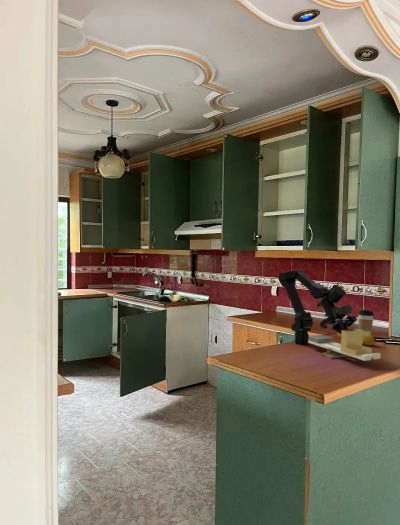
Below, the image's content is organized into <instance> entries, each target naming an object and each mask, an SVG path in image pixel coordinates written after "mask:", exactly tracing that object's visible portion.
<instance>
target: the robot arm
mask: <svg viewBox="0 0 400 525" xmlns="http://www.w3.org/2000/svg"><path fill="white" fill-rule="evenodd" d="M277 279H278V281H279V283H280V285H281V286H282V287H283V288H284V289H285V290H286V292H287V295H288V298H289V301H290V303H291V306H292V308H293V311H294V322H293V324H292V325H291V327H290V328H291V331H293V340H292V341H293V343H294V344H296V345H309V343H308V339H309V336H310V334H309V332H311V330H312V327H313V326H314V325H313V324H314V318H313V317H312V314H311V312H308V311H306V310H305V309H304V305H303V303H302V300H301V298H300V296H299V292H298V290H297V288H296V284H297V283H296V282H297V281H298V282H299V283H301V285H303V286H304V287H305V288H306V289H307V290H308V291H309V294H310V296H311V297H312V298H313V299H314V300H320V301H317V304H316V307H317V308H322V310H323V311H324V313H325V314H324V318H323V319H322V320H321V321H320V322H319V327H320V328H321V329H322V330H325V329H328V325H331V328H330V329H331V330H332V331H335V332H337V333H340V334H341V333H342V330H349V327H352V326H353V325H354V324H355V323H356V322H357V321H358V317H357V316H356V315H351V314H352V313H353V310H354V308H353V307H352V305H351V304H346V305H343V306H340V307H339V306H336V304H338V303H339V302H340V301H341V300H342V299H343V298H344V297H345V296H346V295H347V293H346V290H345V289H344V288H342V287H340V286H339V285H338V284H333V285H332V286H331V288H330V289H329V288H328V287H326V286H324V285H322V284H320V283H316V282H315V281H314V280H313V279H312V278H310V277H309V276H308V275H307V274H305V273H304V271H303V270H302V269H293V270H289V271H287V272H286V271H285V272H282V271H281V272H280V273H279V275H278V278H277ZM348 314H350V315H348Z"/></svg>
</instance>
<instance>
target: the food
mask: <svg viewBox="0 0 400 525" xmlns="http://www.w3.org/2000/svg"><path fill="white" fill-rule="evenodd" d="M337 336H338V337H339V338H340V339H341V334H340V333H338V332H337ZM374 343H375V338H374V336H373V335H372V334H371V335H369V334H366V333H363V340H362V345H365V346H372V345H374Z"/></svg>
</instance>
